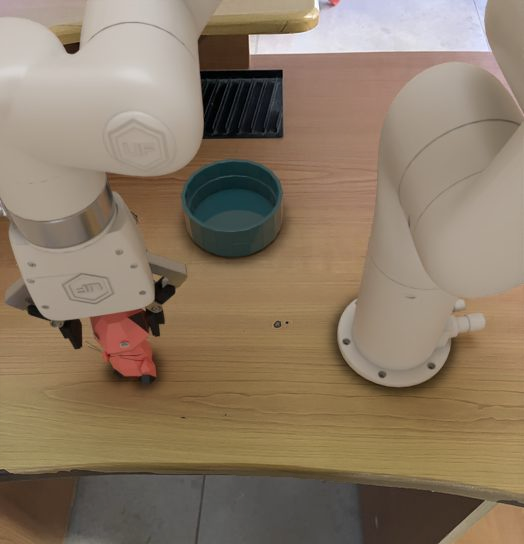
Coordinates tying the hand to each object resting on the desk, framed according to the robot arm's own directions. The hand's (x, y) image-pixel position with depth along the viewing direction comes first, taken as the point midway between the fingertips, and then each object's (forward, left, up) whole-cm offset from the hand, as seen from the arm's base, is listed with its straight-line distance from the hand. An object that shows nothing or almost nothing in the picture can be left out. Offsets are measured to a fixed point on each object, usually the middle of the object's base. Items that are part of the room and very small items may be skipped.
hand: (117, 330), depth 58 cm
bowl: (-14, -19, -7) cm, 25 cm away
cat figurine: (0, 0, -8) cm, 8 cm away
